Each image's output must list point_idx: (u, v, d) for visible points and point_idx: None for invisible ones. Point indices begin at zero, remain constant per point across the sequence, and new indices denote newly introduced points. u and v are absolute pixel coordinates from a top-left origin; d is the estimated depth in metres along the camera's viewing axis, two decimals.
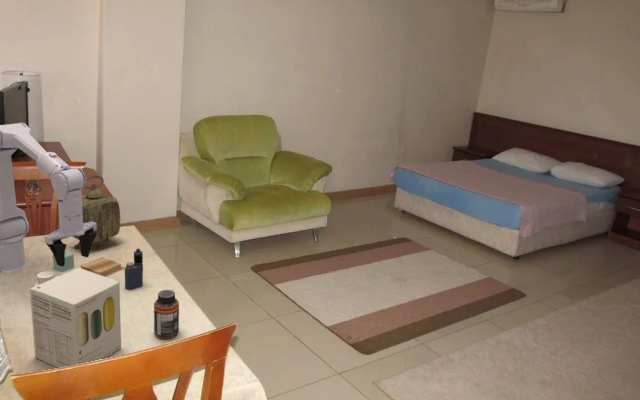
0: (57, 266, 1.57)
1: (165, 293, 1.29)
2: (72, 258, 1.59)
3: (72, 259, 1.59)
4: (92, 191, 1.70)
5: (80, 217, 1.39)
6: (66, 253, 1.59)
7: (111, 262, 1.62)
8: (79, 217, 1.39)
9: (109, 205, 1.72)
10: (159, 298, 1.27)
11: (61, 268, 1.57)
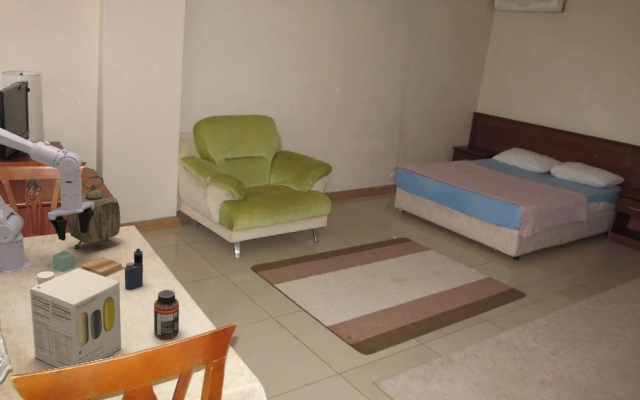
0: (57, 266, 1.57)
1: (165, 293, 1.29)
2: (72, 258, 1.59)
3: (72, 259, 1.59)
4: (92, 191, 1.69)
5: (79, 196, 1.56)
6: (66, 253, 1.59)
7: (112, 262, 1.62)
8: (79, 196, 1.55)
9: (109, 205, 1.71)
10: (159, 298, 1.27)
11: (61, 268, 1.57)
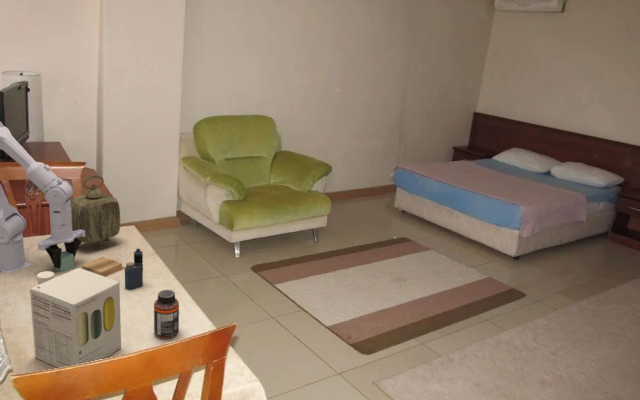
0: None
1: (165, 293, 1.29)
2: (72, 258, 1.59)
3: (72, 259, 1.59)
4: (92, 191, 1.70)
5: (70, 226, 1.55)
6: (66, 253, 1.59)
7: (112, 261, 1.63)
8: (69, 226, 1.55)
9: (109, 205, 1.72)
10: (159, 298, 1.27)
11: (61, 268, 1.57)
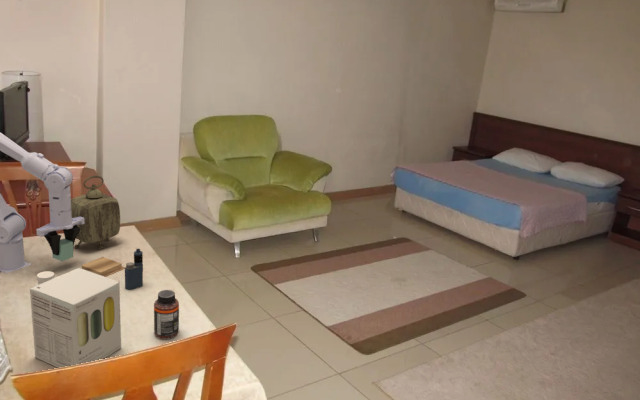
0: None
1: (165, 293, 1.29)
2: (71, 245, 1.58)
3: (71, 246, 1.58)
4: (92, 191, 1.70)
5: (69, 212, 1.54)
6: (65, 240, 1.58)
7: (112, 262, 1.63)
8: (68, 212, 1.53)
9: (109, 205, 1.72)
10: (159, 298, 1.27)
11: (60, 255, 1.55)
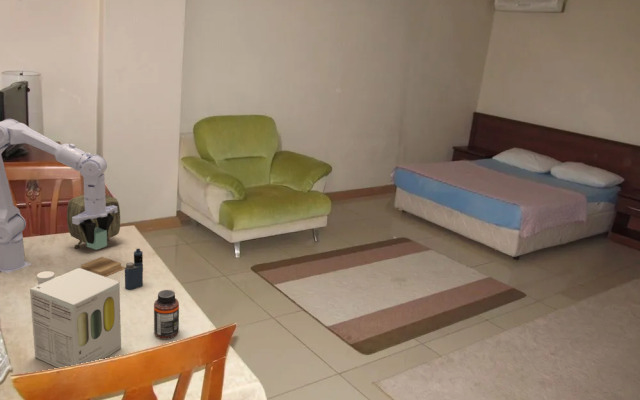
0: None
1: (165, 293, 1.29)
2: (105, 234, 1.58)
3: (105, 235, 1.58)
4: None
5: (103, 200, 1.54)
6: (99, 229, 1.58)
7: (111, 261, 1.63)
8: (102, 200, 1.53)
9: (109, 205, 1.72)
10: (159, 298, 1.27)
11: (95, 244, 1.55)
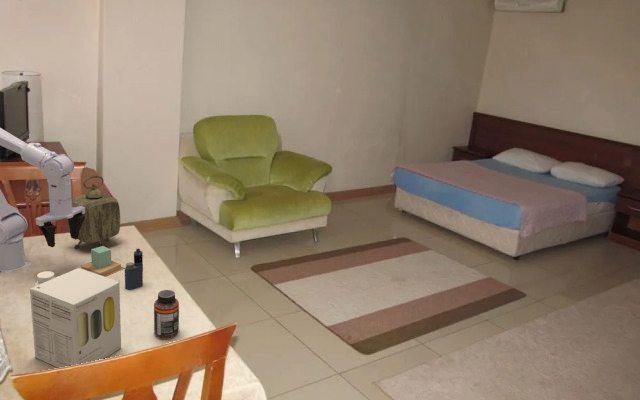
0: (94, 260, 1.58)
1: (165, 293, 1.29)
2: (109, 253, 1.59)
3: (109, 254, 1.60)
4: (92, 191, 1.70)
5: (69, 201, 1.49)
6: (104, 248, 1.60)
7: (111, 262, 1.62)
8: (68, 201, 1.49)
9: (109, 205, 1.72)
10: (159, 298, 1.27)
11: (98, 263, 1.57)
